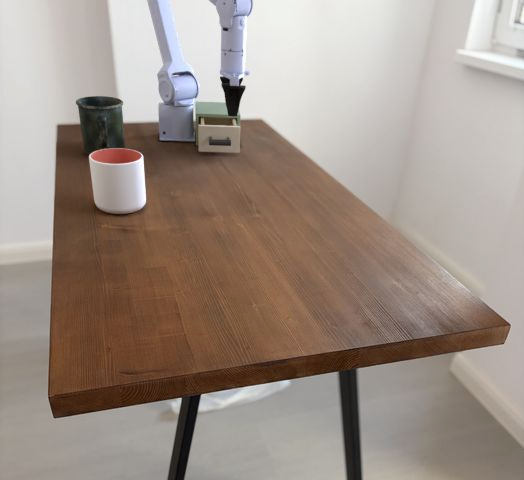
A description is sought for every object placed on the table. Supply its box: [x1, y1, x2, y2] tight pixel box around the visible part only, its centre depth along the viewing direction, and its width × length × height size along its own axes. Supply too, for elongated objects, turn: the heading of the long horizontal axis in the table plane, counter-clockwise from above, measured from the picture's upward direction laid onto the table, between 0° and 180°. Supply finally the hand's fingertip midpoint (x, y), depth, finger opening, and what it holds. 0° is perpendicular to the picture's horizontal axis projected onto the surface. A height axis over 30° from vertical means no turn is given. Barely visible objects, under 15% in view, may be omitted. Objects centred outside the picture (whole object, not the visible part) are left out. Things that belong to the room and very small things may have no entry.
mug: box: [75, 95, 126, 157], centre depth 131 cm, size 11×15×12 cm
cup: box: [88, 148, 147, 215], centre depth 107 cm, size 10×10×10 cm
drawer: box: [198, 117, 241, 154], centre depth 141 cm, size 17×10×6 cm, turn 6°
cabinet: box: [194, 100, 241, 147], centre depth 150 cm, size 14×12×8 cm
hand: (231, 112), depth 135 cm, fingers open, 7 cm apart
